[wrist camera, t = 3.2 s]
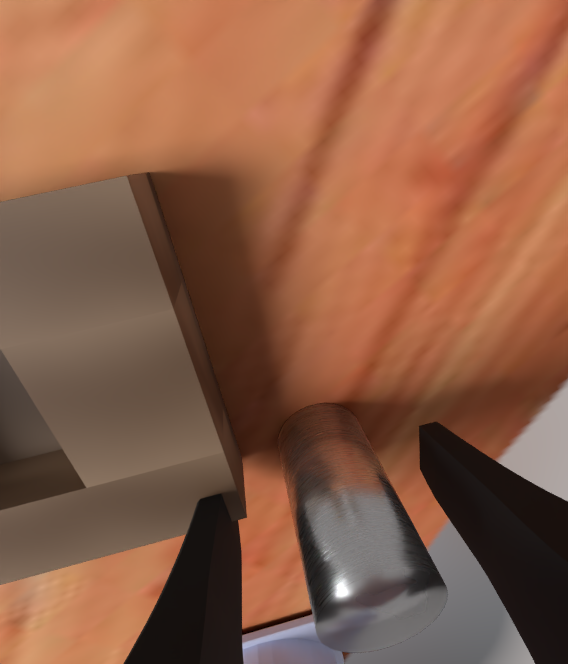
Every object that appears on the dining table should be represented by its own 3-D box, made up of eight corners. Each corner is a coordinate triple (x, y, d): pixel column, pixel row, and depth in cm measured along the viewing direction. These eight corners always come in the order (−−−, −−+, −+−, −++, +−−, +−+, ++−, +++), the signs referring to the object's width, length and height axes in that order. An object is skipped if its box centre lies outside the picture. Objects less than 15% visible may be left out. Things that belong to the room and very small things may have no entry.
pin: (363, 457, 15) (446, 629, 9) (286, 478, 14) (325, 666, 9) (355, 393, 13) (449, 553, 8) (270, 416, 13) (305, 595, 8)
